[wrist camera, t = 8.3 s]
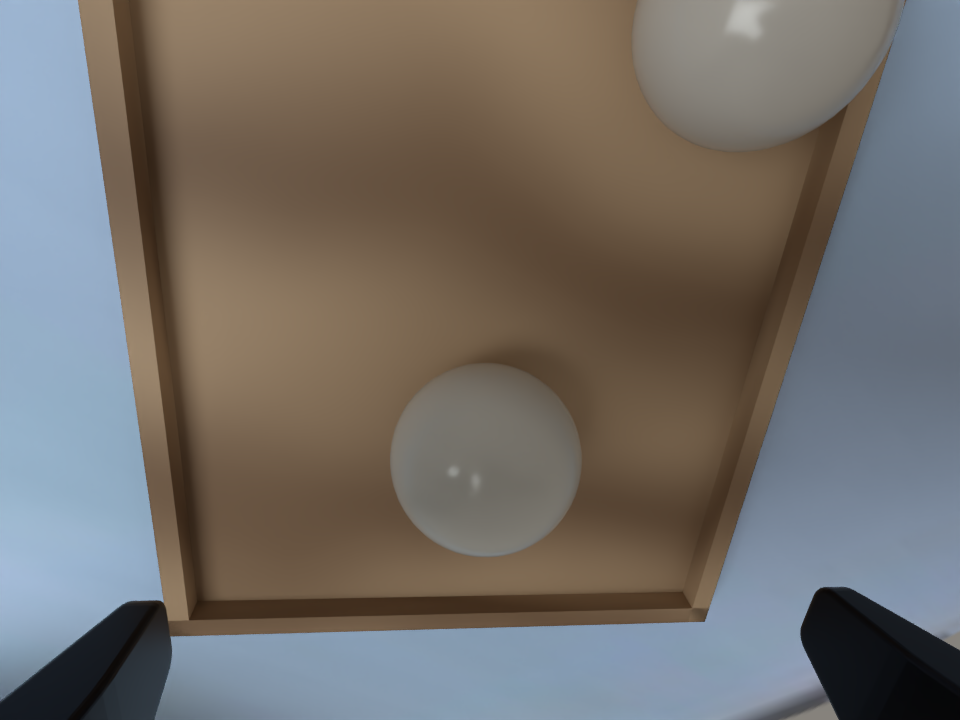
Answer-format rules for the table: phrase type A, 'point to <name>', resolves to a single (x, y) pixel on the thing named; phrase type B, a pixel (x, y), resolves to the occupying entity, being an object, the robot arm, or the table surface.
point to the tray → (437, 298)
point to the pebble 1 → (485, 460)
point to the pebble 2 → (756, 64)
